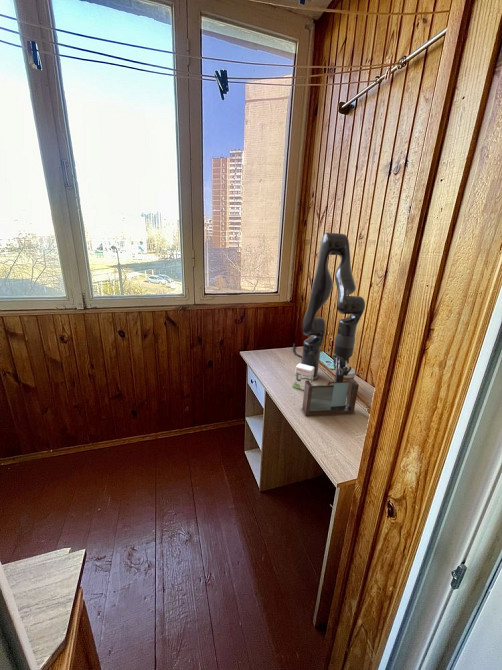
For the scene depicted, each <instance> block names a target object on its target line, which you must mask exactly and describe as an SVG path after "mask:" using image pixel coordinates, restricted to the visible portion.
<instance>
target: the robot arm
mask: <svg viewBox="0 0 502 670" xmlns="http://www.w3.org/2000/svg"><path fill="white" fill-rule="evenodd" d="M329 256H338V257H339V259H340V262H339V265H338V266H337V268H336V271H335V274H334V281H335V285H336V289H337V298H336V299H337V301H336V309H337V311H338V312H339V314H340V315H348V316H347V317H344V318H341V319H340V320H339V321H338V326H337V331H336V332H337V333H336V336H335V341H334V349H333V353H334V354H333V355H332V359H333V368H334V369H335V370H339V372H338V379H337V382H338V383H342V382H343V377H344V376H347V375H348V373H349V372H350V370H351V368H352V366H349V364H350V358H352V357H353V354H354V349H355V344H356V343H355V342H356V333H357V328H358V324H359V322H360V320H361V317H362V316H363V314H364V312H365V309H366V300H365V299H364V297H362V296H359V295H352V294H354V293H355V291H356V290H357V288H356V283H355V278H354V274H353V271H352V264H351V263H352V262H351V261H352V260H351V250H350V241H349V238H348V236H347V234H345V233H338V232H325V233H324V234H323V235H322V237H321V240H320V245H319V251H318V258H317V265H316V269H315V274H314V278H313V281H312V286H311V290H310V295H309V300H308V304H307V308H306V310H305V313H304V316H303V319H302V323H301V332H302V334H303V335H304V336H306V337H308V338H306V339H305V340H303V345H302V354H298V353H297V352H296V351H295V348H296V347H295V345H296V343H295V342H294V343H293V345H292V352H293V354H294V355H295V356H297V357H299V358H301V362H300V363H301V364H305V365H309V366H312V367H314V368H315V369H314V376H313V380H316V379H318V373H319V367H320V366H319V365H320V358H321V349H322V345H323V343H324V339H325V338H324V337H325V332H326V321H325V319H324V318H323V317H321V316H317V314H318V312H319V311H320V309H321V308H322V307H323V306H324V305H325V304H326V303H327V302H328V300H329V299H330V297H331V294H332V290H333V287H334V281H333V277H332V275H331V272H330V269H329V265H328V264H329V263H328V261H329ZM341 371H342V372H341Z"/></svg>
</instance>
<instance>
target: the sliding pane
mask: <svg viewBox="0 0 502 670" xmlns="http://www.w3.org/2000/svg"><path fill="white" fill-rule="evenodd" d="M335 370H336V369H335ZM338 372H339V370H336V371H335V377H334V380H327V385H334V389H333V395H332V402H331V407H332V406H345V404H346V401H347V395H348V394H347V392H348V386H349V380H347V381H343V382H342V383H338V382H337V379H338ZM341 372H342V371H341Z"/></svg>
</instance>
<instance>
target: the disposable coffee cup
mask: <svg viewBox="0 0 502 670" xmlns="http://www.w3.org/2000/svg"><path fill="white" fill-rule="evenodd" d="M335 372H336V369H335ZM355 377H356V369H354V368H353V367H351V370H350V372H349V373H348V375H347V376H344V377H343V381H347V380H349V383H350V379H354V380H355ZM348 389H349V386H348ZM347 395H348V392H347Z"/></svg>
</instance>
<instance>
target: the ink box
mask: <svg viewBox="0 0 502 670" xmlns="http://www.w3.org/2000/svg"><path fill="white" fill-rule="evenodd" d="M314 369H315V368H314V367H312V366H309V365H305V364H301V362H299V363H297V364H296V365H295V370H294V371H295V372H294V377H293V388H295V389H297V390H298V389H299V390H302V391H304V388H305V381H310V383H311V385H312V386H313V384H314V383H313V382H314V379H313V376H314Z"/></svg>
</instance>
